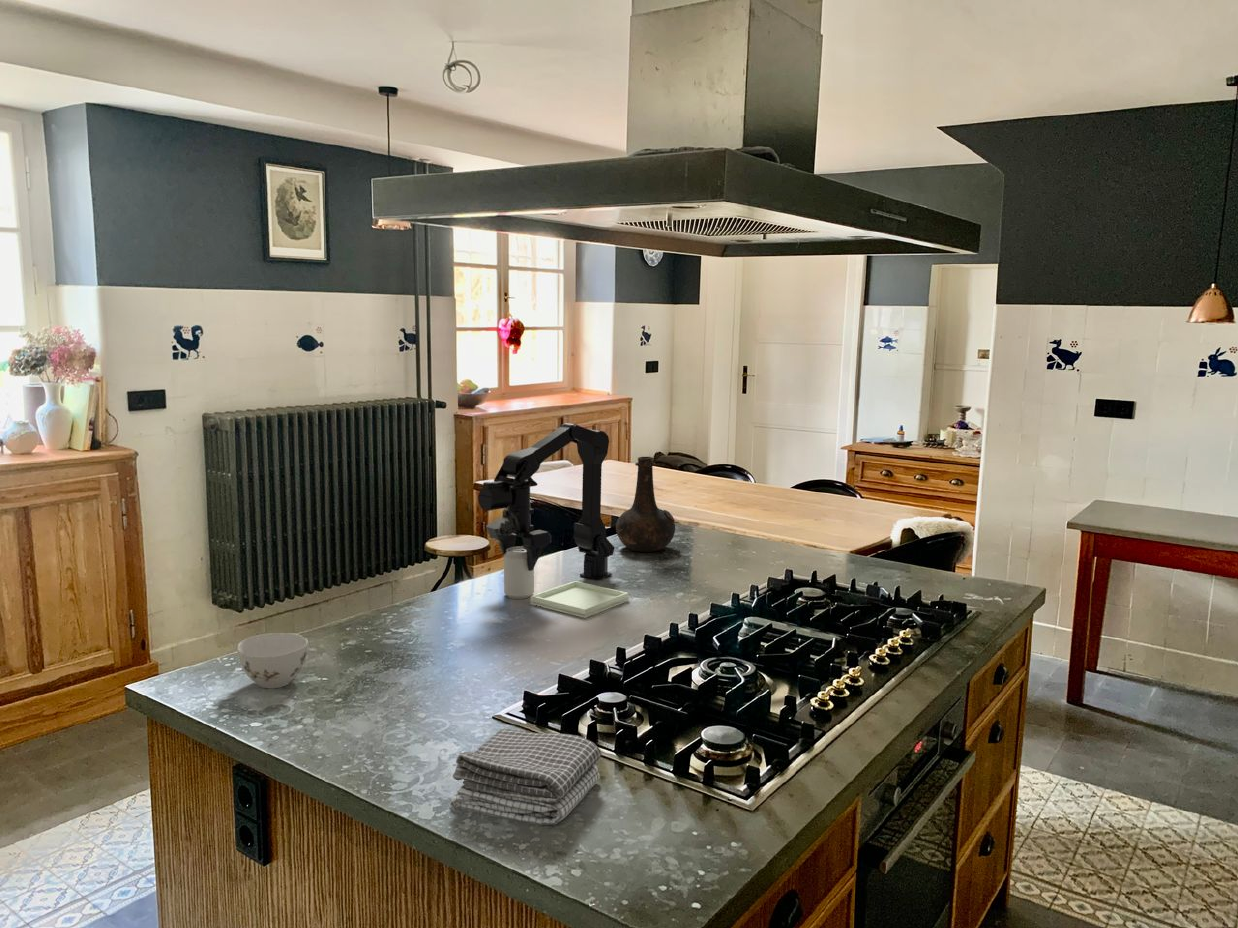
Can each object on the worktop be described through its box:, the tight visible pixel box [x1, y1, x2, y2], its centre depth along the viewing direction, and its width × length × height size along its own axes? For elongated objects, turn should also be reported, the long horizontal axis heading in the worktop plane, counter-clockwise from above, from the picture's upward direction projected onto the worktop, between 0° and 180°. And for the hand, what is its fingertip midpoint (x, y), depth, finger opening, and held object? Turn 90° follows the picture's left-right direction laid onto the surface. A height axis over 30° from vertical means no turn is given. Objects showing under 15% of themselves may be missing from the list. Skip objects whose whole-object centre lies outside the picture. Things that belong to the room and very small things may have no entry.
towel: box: [449, 728, 603, 826], centre depth 136 cm, size 15×18×8 cm
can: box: [503, 546, 535, 600], centre depth 232 cm, size 8×8×12 cm
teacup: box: [237, 632, 309, 689], centre depth 177 cm, size 15×12×8 cm
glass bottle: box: [615, 456, 676, 553], centre depth 280 cm, size 18×18×28 cm
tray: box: [529, 580, 629, 619], centre depth 228 cm, size 17×17×2 cm
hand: (519, 566), depth 232 cm, fingers open, 9 cm apart
